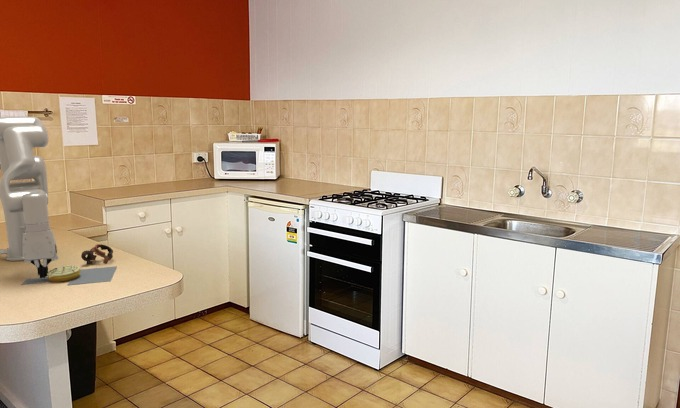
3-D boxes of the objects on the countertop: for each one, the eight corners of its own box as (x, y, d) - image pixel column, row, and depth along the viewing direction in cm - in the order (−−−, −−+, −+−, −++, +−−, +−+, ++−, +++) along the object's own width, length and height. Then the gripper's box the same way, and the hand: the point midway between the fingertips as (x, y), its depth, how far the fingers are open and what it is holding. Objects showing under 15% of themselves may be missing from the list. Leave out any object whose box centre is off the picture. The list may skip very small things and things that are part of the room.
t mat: (15, 290, 180) (15, 290, 180) (31, 274, 198) (31, 273, 198) (110, 281, 189) (110, 280, 189) (117, 266, 207) (117, 266, 207)
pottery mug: (99, 259, 220) (107, 242, 218) (111, 272, 215) (120, 255, 214) (72, 258, 209) (81, 241, 208) (84, 272, 205) (93, 255, 203)
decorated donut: (50, 276, 195) (48, 266, 195) (82, 272, 199) (81, 262, 199) (46, 284, 186) (44, 274, 185) (79, 280, 190) (78, 270, 189)
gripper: (10, 231, 182) (17, 282, 185) (58, 227, 186) (63, 278, 189) (17, 226, 189) (23, 276, 193) (63, 223, 193) (68, 272, 196)
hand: (43, 276), depth 191 cm, fingers closed
